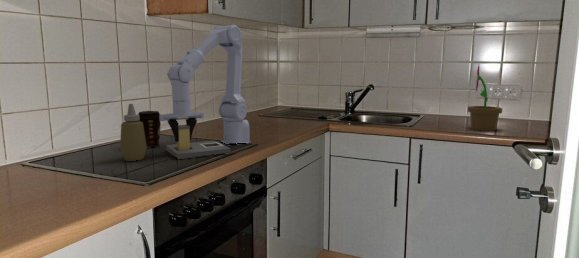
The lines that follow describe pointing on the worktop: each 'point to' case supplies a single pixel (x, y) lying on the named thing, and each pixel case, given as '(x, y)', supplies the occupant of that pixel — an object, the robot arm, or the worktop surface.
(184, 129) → the plug
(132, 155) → the squeeze bottle
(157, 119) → the coffee cup
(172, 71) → the robot arm
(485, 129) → the flowerpot
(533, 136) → the worktop surface
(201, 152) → the socket panel
